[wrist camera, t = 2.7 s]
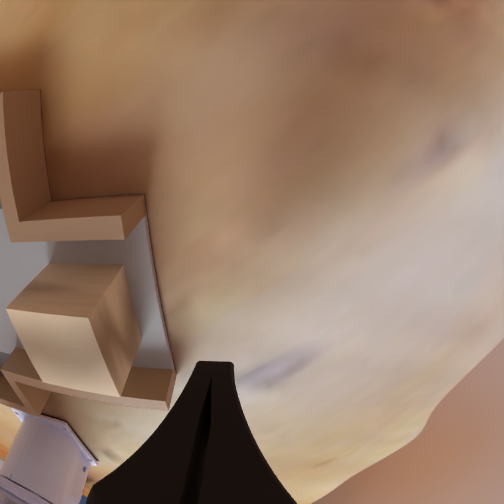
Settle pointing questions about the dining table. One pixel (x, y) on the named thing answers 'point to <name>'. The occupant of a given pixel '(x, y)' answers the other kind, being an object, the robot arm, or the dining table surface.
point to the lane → (70, 262)
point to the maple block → (79, 326)
